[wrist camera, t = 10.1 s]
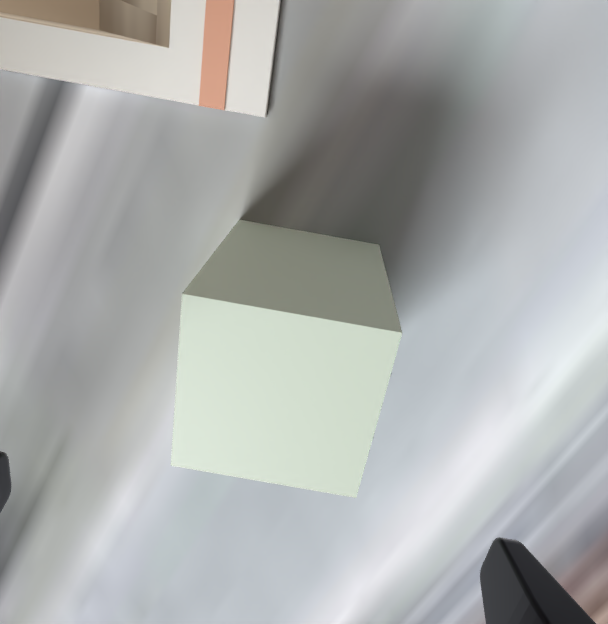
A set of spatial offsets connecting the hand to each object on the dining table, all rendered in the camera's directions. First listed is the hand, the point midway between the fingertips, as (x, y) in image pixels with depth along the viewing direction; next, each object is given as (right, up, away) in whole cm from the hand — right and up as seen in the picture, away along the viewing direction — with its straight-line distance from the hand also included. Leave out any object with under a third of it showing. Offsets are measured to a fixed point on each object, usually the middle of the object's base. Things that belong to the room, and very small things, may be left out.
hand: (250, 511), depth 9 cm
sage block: (+1, +4, +9) cm, 10 cm away
